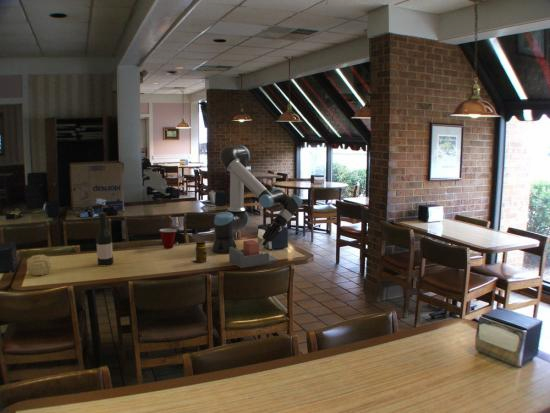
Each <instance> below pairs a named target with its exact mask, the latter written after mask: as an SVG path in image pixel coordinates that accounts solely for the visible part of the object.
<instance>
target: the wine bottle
mask: <svg viewBox="0 0 550 413" xmlns="http://www.w3.org/2000/svg"><path fill="white" fill-rule="evenodd" d="M106 217H107V214H106V212H105V211H104V212H103V211H102V212H99V213H98V218H99V230H98V232H97V234H96V236H95V241H96V256H97V265H98V266H99V265H109V266H112V265H113V264H114V253H113V238H112V233H111V232H110V231H109V229H108V228H107V218H106Z"/></svg>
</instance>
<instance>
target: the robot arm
mask: <svg viewBox="0 0 550 413" xmlns="http://www.w3.org/2000/svg"><path fill="white" fill-rule="evenodd" d="M250 159H251V153H250V150H249V149H248V148H247V147H246V146H244V145H242V144H241V145H238V144H237V145H229V146H228V145H227V146H225V147H223V148H222V149H221V150H220V152H219V161H220V163H221V164H222V166H223V167H224V169H226V170H227V171H228V172H230V173H229V174H230V184H229V187H230V188H229V207H228V208H227V211H223V212H219V213H217V214H215V216H214V220H213V223H214V240H213V244H212V247H211V248H212V249H211V250H212V253H216V254H221V255H222V254H223V255H224V254H229V247H234V248H235V249H237V248H238V247H237V244H236V241H235V239H234V238H235V237H234V232H236V231H239V230H242V229H244V228H246V227H247V226H248V224H249V222H250V216H249V213H248V212H247V210H246V208H245V207H244V204H245V202H244V201H245V200H244V196H245V195H244V193H245V192H244V190H245V187H246V188H247V189H248V190H249V191H250V192H251V193H252V194H253V195H254V196H255V197H256V198H257V199H258V202H259V206H261V207H262V208H266V209H267V208H271V207H274V206H276V205H280V206H281V207H282V209H280V211H279V212H278V214H277V215H276V216H275V217H274V222H272V224H271V223H269V224H268V225H267V228H266V230H265V231H264V232H263V234H262V236H261V237H262V240H261V241H260V242H259V252H260V251H262V250H263V249H264V247H266V245H267V244H268V243H269V242H270V243H271V242H272V241H274V239H275V238H277V236H278V235H279V234H281V233H282V232H283V229H282V228H284V227H286V225H287V224H288V222H289V221H290V220H291V219H292V217H293V216H294V215H295V214H296V213H297V211H298V210H299V209H300V207H301V206H302V204H304V203H303V199H302V198H301V197H300V196H298V194H297V195H296V194H293V195H292V196H291V195H289V194H287V193H286V192H284V191H283V190H281V189H280V188H277V187H274V188H273V189H271V190H268V189H267V188H266V186H264V185H263V184H262V183H261V181H259V180H258V179H257V178H256V177H255V176H254V175H253V174H252V173H251V172H250V171H249V169H247V163H248V162H249V161H250ZM237 250H238V249H237Z"/></svg>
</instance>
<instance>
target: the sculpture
mask: <svg viewBox="0 0 550 413" xmlns="http://www.w3.org/2000/svg"><path fill="white" fill-rule="evenodd" d="M50 259H51V258H50V257H49V256H47V255H45V254H36V255H31V257H29V258H28V259H26V268H27V271H28V273H29V274H30V275H31V276H33V275H41V276H43V275H42V274H45V275H47V274H48V273H49V272H50V271H51V268H52V263H51V262H52V261H51V260H50ZM46 273H47V274H46Z"/></svg>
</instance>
